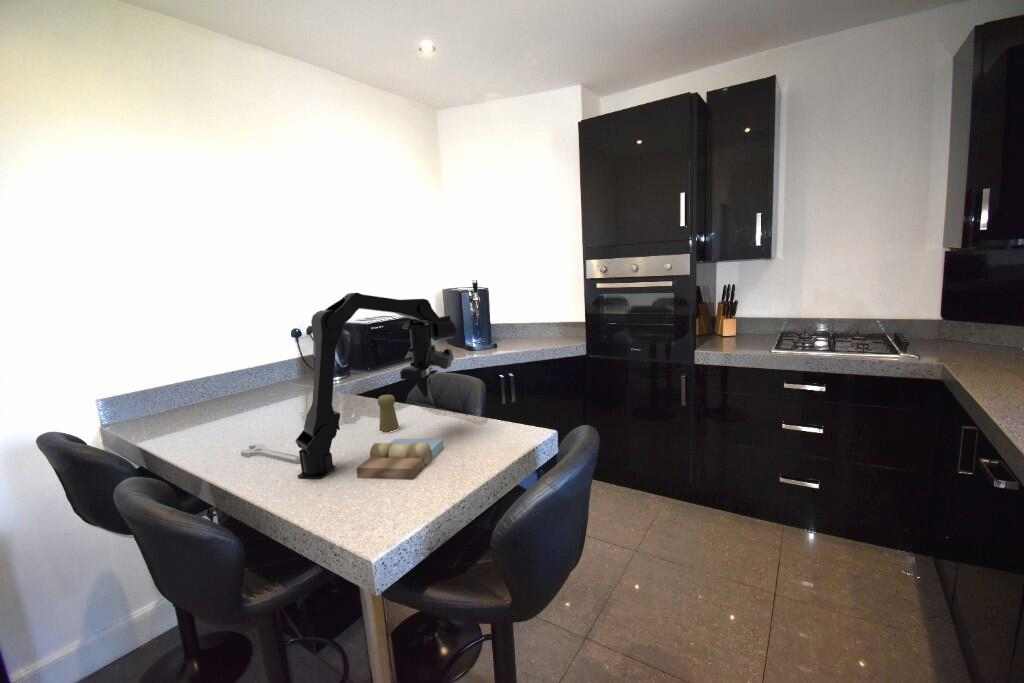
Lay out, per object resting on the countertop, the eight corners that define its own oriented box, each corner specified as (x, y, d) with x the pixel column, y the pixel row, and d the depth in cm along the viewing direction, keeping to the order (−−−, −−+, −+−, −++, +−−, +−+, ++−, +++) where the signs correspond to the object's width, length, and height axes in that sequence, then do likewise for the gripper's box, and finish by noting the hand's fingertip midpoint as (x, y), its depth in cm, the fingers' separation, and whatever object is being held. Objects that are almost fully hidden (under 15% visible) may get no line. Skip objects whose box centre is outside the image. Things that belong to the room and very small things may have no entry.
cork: (384, 434, 138) (380, 399, 136) (376, 430, 143) (372, 396, 141) (402, 429, 142) (399, 394, 140) (394, 425, 146) (390, 391, 145)
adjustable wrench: (308, 462, 121) (307, 456, 120) (285, 472, 115) (284, 465, 115) (259, 448, 135) (258, 442, 134) (236, 455, 129) (235, 449, 129)
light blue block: (372, 466, 114) (370, 447, 113) (396, 447, 126) (394, 430, 126) (424, 467, 111) (422, 448, 110) (443, 447, 123) (442, 430, 123)
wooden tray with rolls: (357, 477, 107) (355, 457, 107) (380, 458, 118) (378, 440, 118) (412, 479, 104) (410, 458, 104) (431, 459, 115) (429, 440, 115)
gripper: (436, 347, 118) (441, 405, 121) (458, 337, 136) (463, 388, 139) (396, 348, 121) (402, 405, 123) (424, 338, 139) (428, 388, 141)
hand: (426, 396), depth 131 cm, fingers closed
